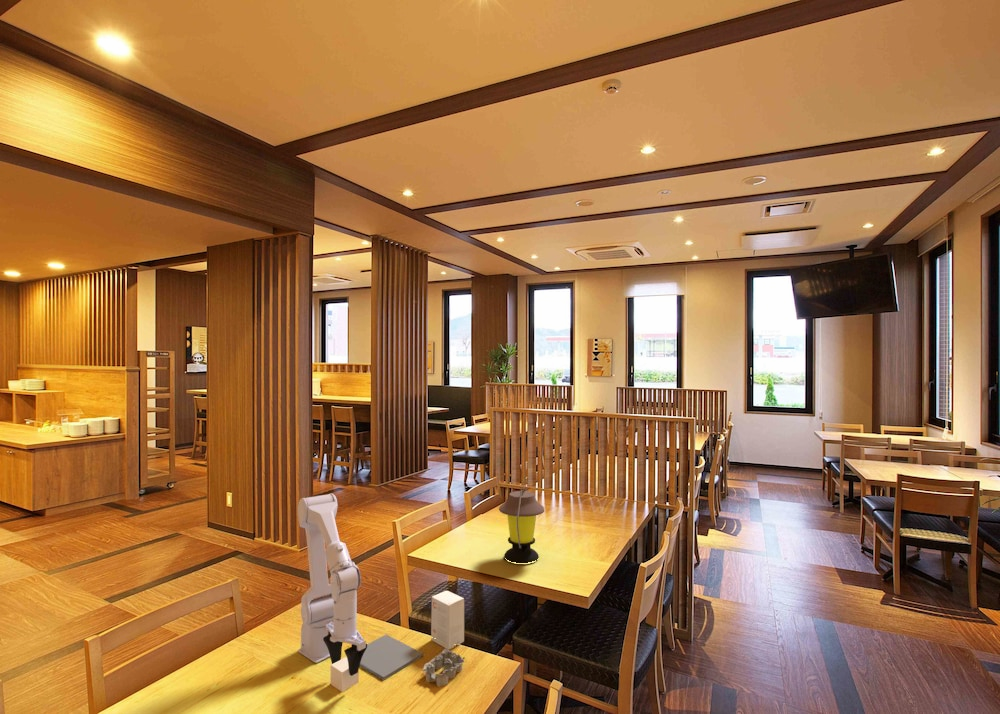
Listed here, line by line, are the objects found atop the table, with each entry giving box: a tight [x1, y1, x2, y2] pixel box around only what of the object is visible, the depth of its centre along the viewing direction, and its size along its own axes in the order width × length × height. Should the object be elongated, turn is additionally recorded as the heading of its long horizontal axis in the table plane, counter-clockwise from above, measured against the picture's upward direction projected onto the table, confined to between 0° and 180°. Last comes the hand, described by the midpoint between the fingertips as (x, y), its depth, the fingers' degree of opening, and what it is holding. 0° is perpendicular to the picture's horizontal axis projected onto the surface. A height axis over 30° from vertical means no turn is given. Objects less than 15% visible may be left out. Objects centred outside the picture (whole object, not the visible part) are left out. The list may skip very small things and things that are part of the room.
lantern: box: [498, 484, 545, 563], centre depth 217 cm, size 25×19×30 cm
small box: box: [430, 590, 465, 651], centre depth 153 cm, size 8×6×13 cm
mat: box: [359, 634, 424, 681], centre depth 144 cm, size 16×14×1 cm
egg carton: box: [422, 648, 466, 687], centre depth 137 cm, size 11×8×4 cm
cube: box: [330, 656, 360, 692], centre depth 132 cm, size 5×5×5 cm
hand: (344, 668), depth 132 cm, fingers open, 7 cm apart
